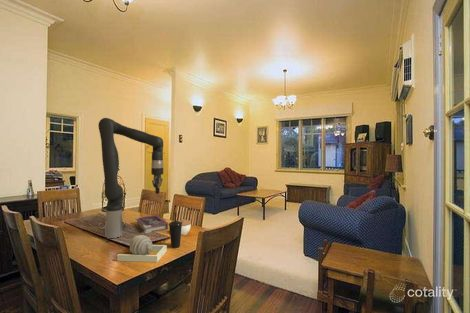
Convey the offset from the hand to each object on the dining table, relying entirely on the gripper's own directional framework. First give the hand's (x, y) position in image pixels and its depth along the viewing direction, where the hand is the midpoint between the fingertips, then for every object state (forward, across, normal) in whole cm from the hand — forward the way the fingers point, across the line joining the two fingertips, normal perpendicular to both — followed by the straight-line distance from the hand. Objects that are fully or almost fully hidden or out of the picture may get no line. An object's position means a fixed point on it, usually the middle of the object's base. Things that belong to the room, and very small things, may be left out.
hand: (157, 193), depth 165 cm
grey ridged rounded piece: (+27, +35, +4) cm, 45 cm away
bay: (+27, +33, +4) cm, 43 cm away
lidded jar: (+27, -3, +16) cm, 32 cm away
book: (+28, -16, -11) cm, 34 cm away
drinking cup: (+27, +20, +18) cm, 38 cm away
